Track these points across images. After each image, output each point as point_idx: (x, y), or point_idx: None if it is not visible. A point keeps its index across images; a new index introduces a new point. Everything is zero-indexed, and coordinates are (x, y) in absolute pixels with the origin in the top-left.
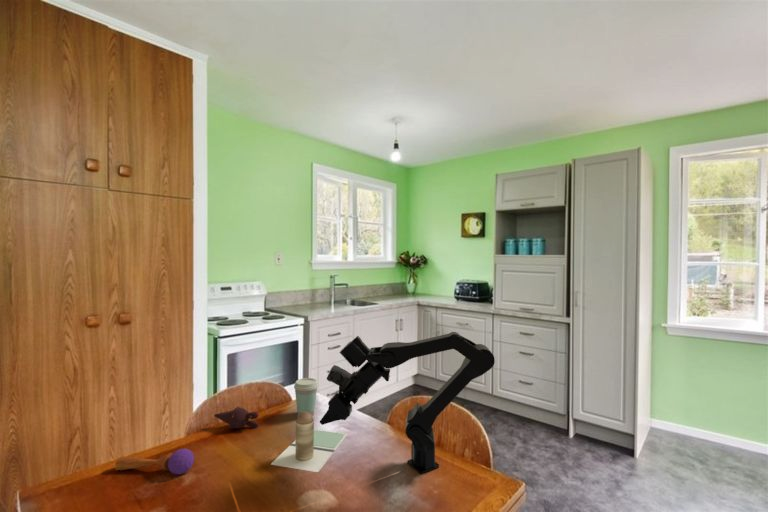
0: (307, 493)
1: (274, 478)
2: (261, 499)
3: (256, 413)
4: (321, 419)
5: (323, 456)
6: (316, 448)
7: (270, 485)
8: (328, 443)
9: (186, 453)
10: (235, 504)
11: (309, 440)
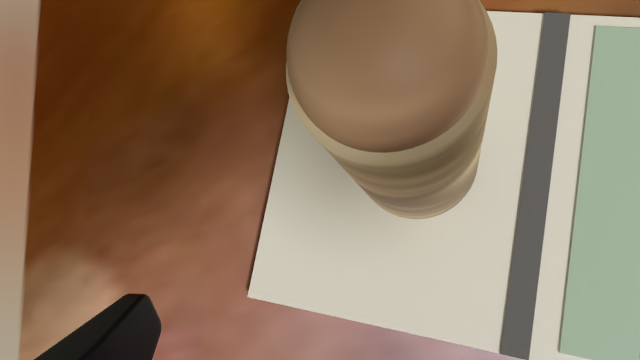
0: (96, 284)
1: (205, 79)
2: (66, 93)
3: None
4: (80, 327)
5: (428, 290)
6: (527, 212)
7: (153, 86)
8: (627, 288)
9: None
10: (43, 10)
11: (353, 178)
